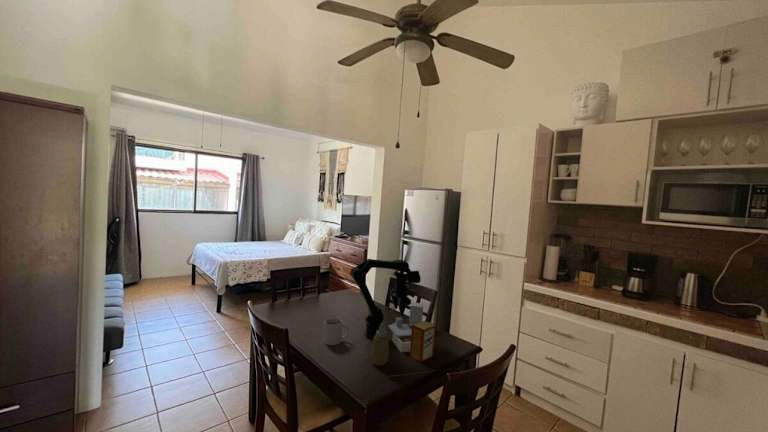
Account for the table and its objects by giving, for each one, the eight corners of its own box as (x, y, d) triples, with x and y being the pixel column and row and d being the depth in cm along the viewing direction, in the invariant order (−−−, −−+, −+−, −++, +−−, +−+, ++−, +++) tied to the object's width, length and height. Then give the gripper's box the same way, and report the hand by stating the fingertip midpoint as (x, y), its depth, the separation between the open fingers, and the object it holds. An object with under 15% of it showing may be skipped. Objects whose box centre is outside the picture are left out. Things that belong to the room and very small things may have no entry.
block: (405, 346, 154) (406, 340, 154) (400, 342, 157) (401, 337, 157) (411, 344, 157) (412, 338, 156) (406, 340, 160) (406, 335, 160)
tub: (400, 353, 147) (401, 343, 147) (392, 341, 159) (393, 332, 159) (419, 351, 151) (420, 341, 150) (410, 340, 162) (410, 331, 162)
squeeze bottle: (369, 358, 141) (372, 319, 140) (387, 358, 141) (390, 320, 141) (370, 368, 133) (373, 327, 132) (389, 368, 133) (392, 327, 132)
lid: (396, 336, 153) (397, 327, 153) (387, 325, 167) (387, 316, 166) (415, 335, 156) (416, 326, 156) (404, 323, 170) (405, 315, 170)
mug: (319, 342, 152) (321, 322, 152) (330, 335, 161) (331, 316, 161) (339, 348, 148) (340, 327, 148) (348, 340, 157) (349, 321, 157)
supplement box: (421, 329, 178) (422, 307, 177) (408, 327, 179) (410, 305, 179) (422, 324, 185) (423, 303, 184) (409, 322, 186) (411, 301, 186)
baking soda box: (422, 351, 151) (424, 319, 150) (433, 357, 146) (435, 324, 145) (409, 357, 144) (412, 324, 143) (420, 363, 139) (423, 329, 139)
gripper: (421, 288, 160) (419, 317, 161) (408, 278, 178) (406, 305, 179) (401, 288, 157) (399, 318, 158) (390, 279, 175) (388, 306, 175)
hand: (398, 311), depth 167 cm, fingers open, 9 cm apart
